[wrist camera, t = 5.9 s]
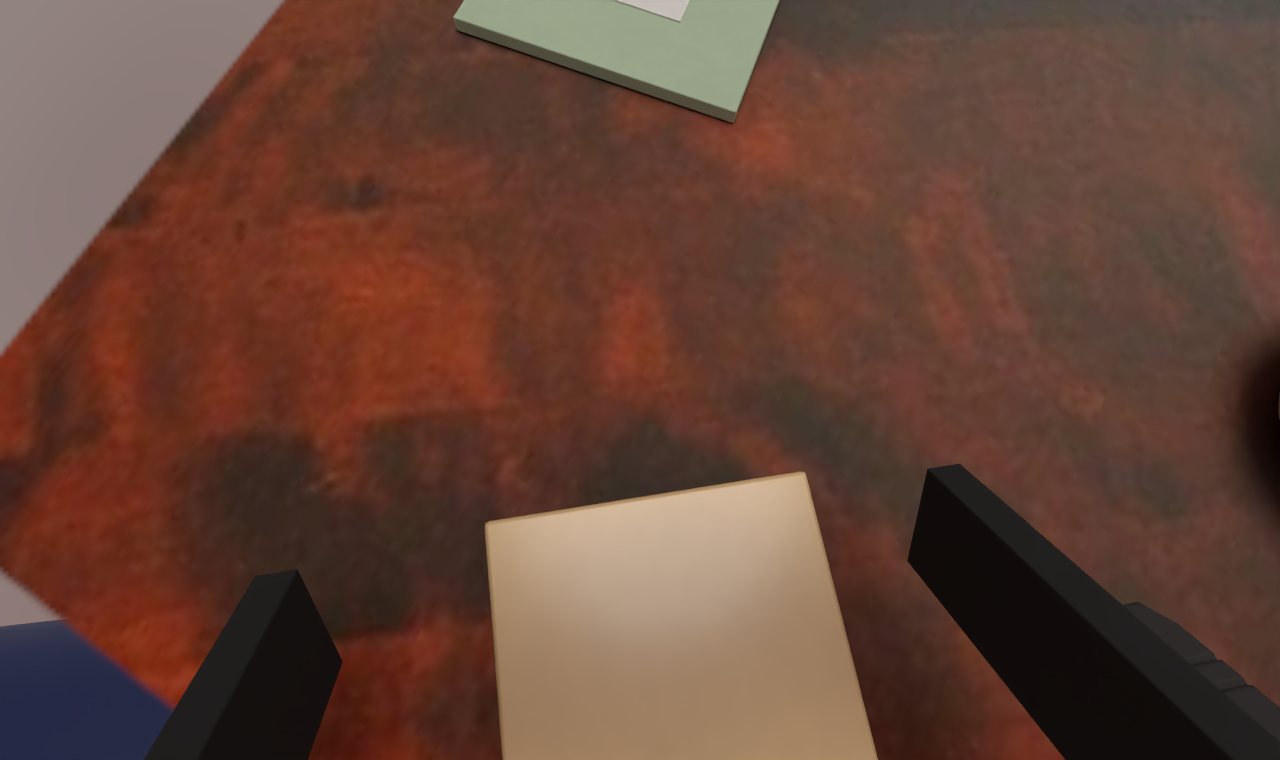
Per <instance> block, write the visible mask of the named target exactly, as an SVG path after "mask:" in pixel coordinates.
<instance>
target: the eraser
mask: <svg viewBox="0 0 1280 760" xmlns="http://www.w3.org/2000/svg"><path fill="white" fill-rule="evenodd" d="M485 540H486V553H487V566H488V579H489V592H490V605H491V619H492V632H493V645H494V658H495V671H496V684H497V697H498V710H499V723H500V736H501V749H502V760H878V758H877V754H876V750H875V746H874V742H873V738H872V734H871V730H870V726H869V722H868V719H867V715H866V711H865V707H864V703H863V699H862V695H861V691H860V687H859V683H858V679H857V675H856V671H855V667H854V663H853V659H852V655H851V651H850V647H849V643H848V639H847V635H846V631H845V628H844V624H843V620H842V616H841V612H840V608H839V604H838V600H837V596H836V592H835V588H834V584H833V580H832V576H831V572H830V568H829V564H828V560H827V556H826V552H825V548H824V544H823V540H822V536H821V533H820V529H819V525H818V521H817V517H816V513H815V509H814V505H813V501H812V497H811V493H810V489H809V485H808V481H807V477H806V474H805V473H804V472H801V471H799V472H793V473H787V474H780V475H774V476H768V477H762V478H755V479H749V480H743V481H737V482H730V483H724V484H718V485H712V486H706V487H699V488H693V489H687V490H681V491H674V492H668V493H662V494H656V495H649V496H643V497H637V498H631V499H624V500H618V501H612V502H606V503H600V504H593V505H587V506H581V507H575V508H568V509H562V510H556V511H550V512H543V513H537V514H531V515H525V516H518V517H512V518H506V519H500V520H493V521H489V522H487V523H486V524H485Z"/></svg>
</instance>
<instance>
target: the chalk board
mask: <svg viewBox="0 0 1280 760" xmlns="http://www.w3.org/2000/svg"><path fill="white" fill-rule="evenodd" d="M779 2H780V0H464V1H463V3H462V4H461V6H460V8H459V9H458V11H457V12H456V14H455V15H454V22H455V26H456V29H457V30H458V31H461V32H464V33H467V34H470V35H473V36H476V37H479V38H482V39H485V40H488V41H491V42H494V43H497V44H499V45H502V46H505V47H508V48H511V49H514V50H517V51H520V52H523V53H526V54H529V55H532V56H535V57H538V58H541V59H544V60H547V61H550V62H553V63H556V64H559V65H562V66H565V67H568V68H571V69H574V70H577V71H580V72H583V73H586V74H589V75H591V76H594V77H597V78H600V79H603V80H606V81H609V82H612V83H615V84H618V85H621V86H624V87H627V88H630V89H633V90H636V91H639V92H642V93H645V94H648V95H651V96H654V97H657V98H660V99H663V100H666V101H669V102H672V103H675V104H678V105H681V106H684V107H686V108H689V109H692V110H695V111H698V112H701V113H704V114H707V115H710V116H713V117H716V118H719V119H722V120H725V121H728V122H731V123H733V122H734V120H735V117H736V115H737V112H738V109H739V107H740V104H741V101H742V99H743V96H744V94H745V91H746V88H747V86H748V83H749V80H750V78H751V75H752V73H753V70H754V67H755V65H756V62H757V59H758V57H759V54H760V52H761V49H762V46H763V44H764V41H765V38H766V36H767V33H768V31H769V28H770V25H771V23H772V20H773V17H774V15H775V12H776V10H777V7H778V4H779Z"/></svg>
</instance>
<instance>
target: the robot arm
mask: <svg viewBox="0 0 1280 760" xmlns="http://www.w3.org/2000/svg"><path fill="white" fill-rule="evenodd" d="M908 562H909V563H910V565H911V566H912V567H913V569H914V570H915V571H916V572H917V574H918V575H919V576H920V577H921V579H922V580H923V581H924V582H925V584H926V585H927V586H928V587H929V589H930V590H931V591H932V592H933V594H934V595H935V596H936V597H937V599H938V600H939V601H940V602H941V604H942V605H943V606H944V608H945V609H946V610H947V611H948V613H949V614H950V615H951V616H952V618H953V619H954V620H955V621H956V623H957V624H958V625H959V626H960V628H961V629H962V630H963V631H964V633H965V634H966V635H967V636H968V638H969V639H970V640H971V641H972V643H973V644H974V645H975V647H976V648H977V649H978V650H979V652H980V653H981V654H982V655H983V657H984V658H985V659H986V660H987V662H988V663H989V664H990V665H991V667H992V668H993V669H994V670H995V672H996V673H997V674H998V675H999V677H1000V678H1001V679H1002V681H1003V682H1004V683H1005V684H1006V686H1007V687H1008V688H1009V689H1010V691H1011V692H1012V693H1013V694H1014V696H1015V697H1016V698H1017V699H1018V701H1019V702H1020V703H1021V704H1022V706H1023V707H1024V708H1025V709H1026V711H1027V712H1028V713H1029V714H1030V716H1031V717H1032V718H1033V720H1034V721H1035V722H1036V723H1037V725H1038V726H1039V727H1040V728H1041V730H1042V731H1043V732H1044V733H1045V735H1046V736H1047V737H1048V738H1049V740H1050V741H1051V742H1052V743H1053V745H1054V746H1055V747H1056V748H1057V750H1058V751H1059V752H1060V753H1061V755H1062V756H1063V757H1064V759H1065V760H1280V708H1279V707H1278V706H1277V705H1276V704H1275V703H1273V702H1272V701H1271V700H1270V699H1269V698H1267V697H1266V696H1265V695H1264V694H1262V693H1261V692H1260V691H1259V690H1258V689H1256V688H1255V687H1254V686H1253V685H1248V684H1246V683H1245V681H1244V678H1243V677H1242V676H1241V675H1239V674H1238V673H1237V672H1236V671H1234V670H1233V669H1232V668H1231V667H1230V666H1228V665H1227V664H1226V663H1225V662H1224V661H1222V660H1217V659H1216V658H1215V656H1214V653H1213V652H1211V651H1210V650H1209V649H1208V648H1206V647H1205V646H1204V645H1203V644H1202V643H1200V642H1199V641H1198V640H1197V639H1196V638H1194V637H1193V636H1192V635H1191V634H1189V633H1188V632H1187V631H1186V630H1185V629H1183V628H1182V627H1181V626H1180V625H1178V624H1177V623H1175V622H1173V621H1171V620H1169V619H1168V618H1166V617H1164V616H1162V615H1161V614H1159V613H1157V612H1155V611H1153V610H1152V609H1150V608H1148V607H1146V606H1144V605H1143V604H1141V603H1139V602H1135V603H1130V604H1125V605H1122V604H1121V603H1120V602H1118V601H1117V600H1116V599H1115V598H1114V597H1113V596H1111V595H1110V594H1109V593H1108V592H1107V591H1106V590H1105V589H1103V588H1102V587H1101V586H1100V585H1099V584H1098V583H1096V582H1095V581H1094V580H1093V579H1092V578H1091V577H1090V576H1088V575H1087V574H1086V573H1085V572H1084V571H1083V570H1081V569H1080V568H1079V567H1078V566H1077V565H1076V564H1075V563H1073V562H1072V561H1071V560H1070V559H1069V558H1068V557H1067V556H1065V555H1064V554H1063V553H1062V552H1061V551H1060V550H1058V549H1057V548H1056V547H1055V546H1054V545H1053V544H1052V543H1050V542H1049V541H1048V540H1047V539H1046V538H1045V537H1043V536H1042V535H1041V534H1040V533H1039V532H1038V531H1037V530H1035V529H1034V528H1033V527H1032V526H1031V525H1030V524H1028V523H1027V522H1026V521H1025V520H1024V519H1023V518H1022V517H1020V516H1019V515H1018V514H1017V513H1016V512H1015V511H1013V510H1012V509H1011V508H1010V507H1009V506H1008V505H1007V504H1005V503H1004V502H1003V501H1002V500H1001V499H1000V498H999V497H997V496H996V495H995V494H994V493H993V492H992V491H990V490H989V489H988V488H987V487H986V486H985V485H984V484H982V483H981V482H980V481H979V480H978V479H977V478H975V477H974V476H973V475H972V474H971V473H970V472H969V471H967V470H966V469H965V468H964V467H963V466H962V465H960V464H955V465H949V466H943V467H937V468H930V469H927V474H926V478H925V483H924V487H923V492H922V497H921V501H920V506H919V510H918V515H917V519H916V524H915V529H914V533H913V538H912V542H911V547H910V552H909V556H908ZM341 665H342V660H341V658H340V655H339V653H338V651H337V649H336V647H335V645H334V643H333V641H332V639H331V637H330V635H329V633H328V631H327V629H326V627H325V625H324V623H323V621H322V619H321V617H320V615H319V613H318V611H317V609H316V607H315V605H314V603H313V600H312V598H311V596H310V594H309V592H308V590H307V588H306V586H305V584H304V582H303V580H302V578H301V576H300V574H299V572H298V570H291V571H285V572H279V573H273V574H266V575H260V576H255V578H254V579H253V581H252V582H251V584H250V586H249V587H248V589H247V591H246V592H245V594H244V596H243V597H242V599H241V601H240V602H239V604H238V606H237V607H236V609H235V610H234V612H233V614H232V615H231V617H230V619H229V620H228V622H227V624H226V625H225V627H224V629H223V630H222V632H221V634H220V635H219V637H218V638H217V640H216V642H215V643H214V645H213V647H212V648H211V650H210V652H209V653H208V655H207V657H206V658H205V660H204V662H203V663H202V665H201V667H200V668H199V670H198V671H197V673H196V675H195V676H194V678H193V680H192V681H191V683H190V685H189V686H188V688H187V690H186V691H185V693H184V695H183V696H182V698H181V699H180V701H179V703H178V704H177V706H176V708H175V709H174V711H173V713H172V714H171V716H170V718H169V719H168V721H167V723H166V724H165V726H164V727H163V729H162V731H161V732H160V734H159V736H158V737H157V739H156V741H155V742H154V744H153V746H152V747H151V749H150V751H149V752H148V754H147V756H146V757H145V759H144V760H308V757H309V754H310V751H311V749H312V746H313V743H314V740H315V737H316V735H317V732H318V729H319V726H320V723H321V721H322V718H323V715H324V712H325V710H326V707H327V704H328V701H329V698H330V696H331V693H332V690H333V687H334V684H335V682H336V679H337V676H338V673H339V670H340V668H341Z"/></svg>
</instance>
